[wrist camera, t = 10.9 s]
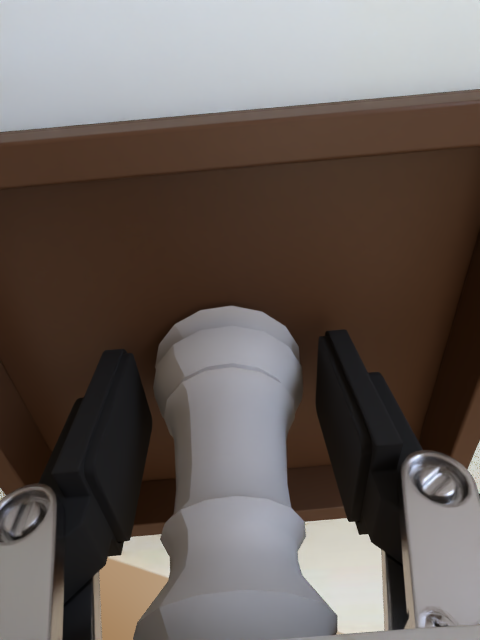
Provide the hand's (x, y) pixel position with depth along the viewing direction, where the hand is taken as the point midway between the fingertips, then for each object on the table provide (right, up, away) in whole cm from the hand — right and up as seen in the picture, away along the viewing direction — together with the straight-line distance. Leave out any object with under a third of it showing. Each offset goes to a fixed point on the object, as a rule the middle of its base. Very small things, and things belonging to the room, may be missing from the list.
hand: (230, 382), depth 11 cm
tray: (0, +1, +1) cm, 2 cm away
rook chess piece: (0, +1, +1) cm, 1 cm away
